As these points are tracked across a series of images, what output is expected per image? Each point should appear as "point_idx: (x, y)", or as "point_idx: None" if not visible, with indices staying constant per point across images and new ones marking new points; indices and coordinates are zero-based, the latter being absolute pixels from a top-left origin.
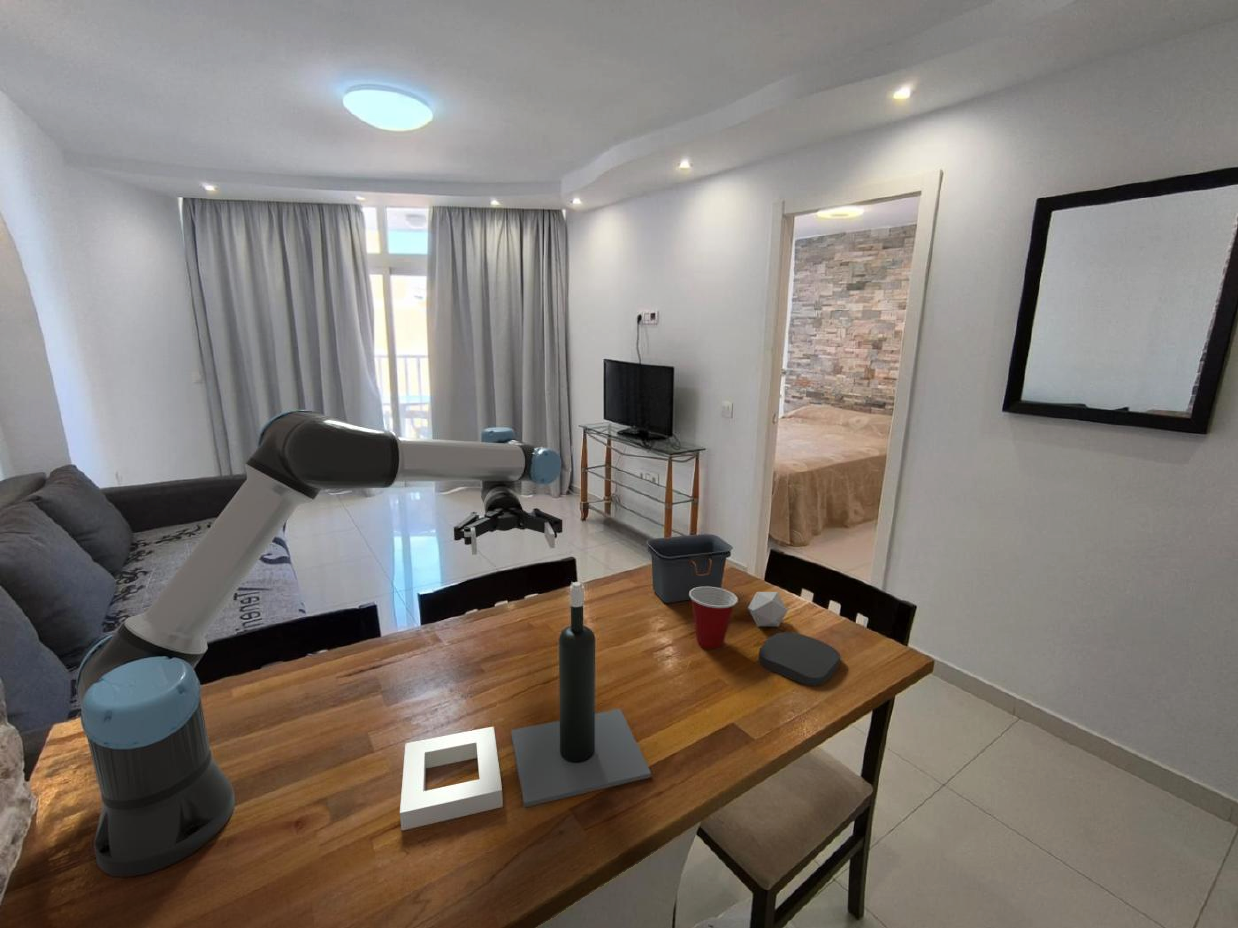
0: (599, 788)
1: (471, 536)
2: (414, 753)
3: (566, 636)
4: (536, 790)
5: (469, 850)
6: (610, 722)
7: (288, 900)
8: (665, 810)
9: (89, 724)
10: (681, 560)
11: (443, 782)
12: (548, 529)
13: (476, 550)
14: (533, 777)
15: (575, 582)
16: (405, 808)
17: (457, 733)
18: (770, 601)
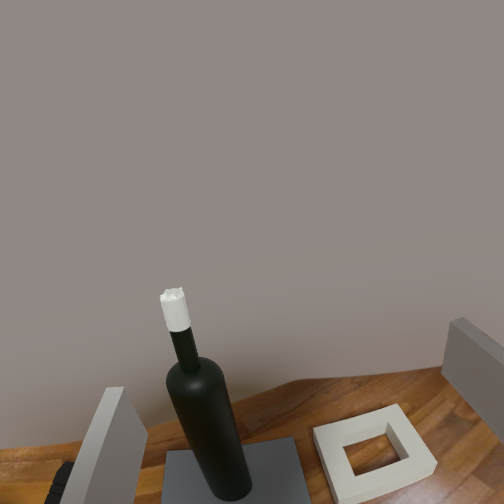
0: None
1: (493, 344)
2: (420, 454)
3: (210, 361)
4: (281, 446)
5: (333, 409)
6: None
7: (435, 373)
8: (173, 427)
9: None
10: None
11: (379, 457)
12: (104, 433)
13: (444, 361)
14: (284, 459)
15: (171, 292)
16: (394, 407)
17: (383, 485)
18: None
